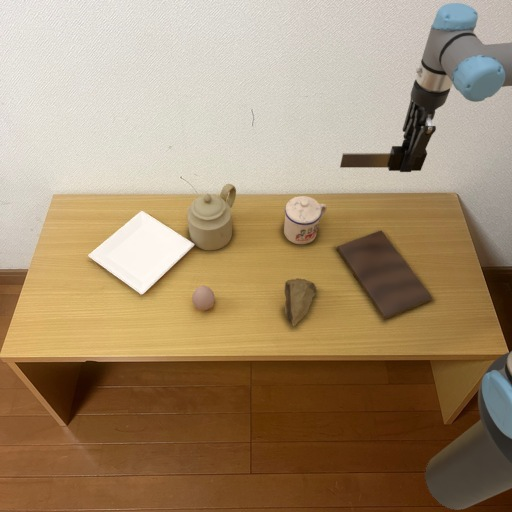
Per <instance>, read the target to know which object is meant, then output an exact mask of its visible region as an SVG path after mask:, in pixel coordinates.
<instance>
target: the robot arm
mask: <svg viewBox="0 0 512 512" xmlns="http://www.w3.org/2000/svg"><path fill="white" fill-rule="evenodd" d="M478 17H479V16H478V11H477V10H476V8H474V7H472V6H471V5H468V4H465V3H461V2H450V3H445V4H443V5H442V6H440V7H439V8H438V10H437V11H436V14H435V17H434V20H433V23H432V24H431V25H430V30H429V33H428V37H427V40H426V44H425V46H424V50H423V53H422V58H421V60H420V64H419V66H418V68H416V70H415V73H416V76H415V79H414V82H413V85H412V87H411V91H410V101H409V105H408V109H407V112H406V116H405V119H404V123H403V127H402V132H403V140H402V143H401V146H409V149H408V150H405V156H404V158H403V161H402V164H401V167H400V171H399V173H411V172H412V171H411V170H412V168H413V165H414V162H415V160H416V157H422V156H423V154H424V151H425V149H426V150H427V148H428V144H429V142H430V141H431V138H432V137H433V134H434V133H435V132H436V130H437V126H436V125H433V120H434V118H435V115H436V110H437V109H440V108H441V107H443V106H444V105H445V103H446V102H447V99H448V97H449V95H450V92H451V88H452V86H453V87H454V88H455V89H456V91H458V92H459V93H460V94H461V95H462V96H463V98H464V99H466V100H467V101H470V102H473V103H475V102H477V103H478V102H483V101H485V99H487V98H491V97H493V96H494V95H496V94H497V93H498V92H499V91H500V90H501V88H504V87H512V42H500V43H491V44H486V43H485V44H484V43H483V41H481V39H480V38H479V37H478V36H477V35H476V33H475V32H474V31H475V28H476V27H477V22H478V20H479V19H478ZM509 352H510V354H509V356H508V358H507V361H506V363H505V366H504V368H503V369H502V370H498V371H497V370H492V371H491V372H488V373H486V374H485V375H484V374H483V375H484V377H483V376H482V377H483V379H482V378H481V380H482V394H483V398H484V401H485V404H486V407H487V410H488V412H489V414H490V416H491V418H492V419H493V421H494V423H495V424H496V426H497V427H498V428H499V429H500V430H501V431H502V432H503V433H504V434H505V435H506V436H507V437H509V438H511V439H512V350H511V351H509Z"/></svg>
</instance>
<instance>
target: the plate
mask: <svg viewBox="0 0 512 512" xmlns="http://www.w3.org/2000/svg"><path fill="white" fill-rule="evenodd" d="M194 246H195V244H194V243H193V242H192V240H189V239H187V238H186V237H185V236H183V235H181V234H180V233H179V232H177V231H175V230H173V229H172V228H170V227H169V226H167V225H166V224H164V223H163V222H161V221H159V220H158V219H156V218H154V216H151V215H150V214H148V213H147V212H145V211H144V210H139V212H138V213H137V214H135V215H134V216H133V217H132V218H131V219H129V220H128V221H127V222H126V223H124V224H123V225H122V226H121V227H120V228H119V229H117V230H116V231H115V232H114V233H112V235H110V236H108V238H107V239H105V240H104V241H103V242H101V244H100V245H98V246H97V247H96V248H95V249H94V250H92V251H91V252H89V254H88V255H87V256H88V258H90V259H92V260H93V261H94V262H95V263H97V264H98V265H100V266H101V267H102V268H104V269H105V270H106V271H108V272H109V273H110V274H112V275H114V276H115V277H116V278H118V279H119V280H120V281H122V282H123V283H124V284H126V285H127V286H129V287H130V288H131V289H133V290H134V291H135V292H137V293H138V294H140V295H144V294H145V293H146V292H147V291H148V290H149V289H150V288H151V287H152V286H154V284H156V283H157V281H159V280H160V279H161V278H162V277H163V276H164V275H165V274H166V273H167V272H168V271H169V270H170V269H171V268H172V267H173V266H174V265H175V264H177V262H179V261H180V260H181V259H182V258H183V257H184V256H185V255H186V254H187V253H188V252H189V251H190V250H191V249H192V248H193V247H194Z"/></svg>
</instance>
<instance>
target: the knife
mask: <svg viewBox="0 0 512 512" xmlns="http://www.w3.org/2000/svg"><path fill="white" fill-rule="evenodd" d="M408 149H409V146H402V145H392V146H391V149H390V152H343V153H342V155H341V160H340V165H339V168H341V169H343V168H347V169H348V168H351V169H352V168H354V169H355V168H371V169H372V168H387V169H388V172H400V167H401V164H402V161H403V158H404V156H405V150H408ZM427 156H428V151H427V148H426V149H425V151H424V154H423V156H422V157H416V160H415V162H414V165H413V168H412V170H411V172H417V171H418V172H421V171H422V169H423V166H424V163H425V162H426V159H427Z"/></svg>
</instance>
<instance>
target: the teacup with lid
mask: <svg viewBox="0 0 512 512" xmlns="http://www.w3.org/2000/svg"><path fill="white" fill-rule="evenodd" d="M326 211H327V205H326V204H325V203H319V202H318V200H316V199H315V198H313V197H310V196H306V195H298V196H295V197H292V198H291V199H289V200H288V202H287V203H286V204H285V207H284V213H285V214H284V215H285V216H284V223H283V226H284V227H283V233H284V236H285V238H286V239H287V240H288V241H289V242H291V243H292V244H296V245H306V244H310V243H311V242H313V241H314V240H315V239H316V237H317V235H318V230H319V224H320V219H321V218H322V217H323V216H324V215H325V213H326Z"/></svg>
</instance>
